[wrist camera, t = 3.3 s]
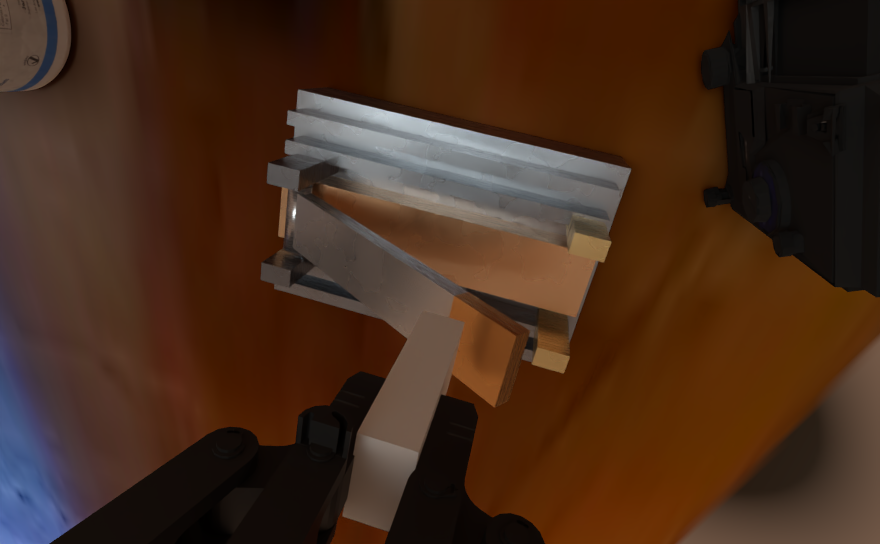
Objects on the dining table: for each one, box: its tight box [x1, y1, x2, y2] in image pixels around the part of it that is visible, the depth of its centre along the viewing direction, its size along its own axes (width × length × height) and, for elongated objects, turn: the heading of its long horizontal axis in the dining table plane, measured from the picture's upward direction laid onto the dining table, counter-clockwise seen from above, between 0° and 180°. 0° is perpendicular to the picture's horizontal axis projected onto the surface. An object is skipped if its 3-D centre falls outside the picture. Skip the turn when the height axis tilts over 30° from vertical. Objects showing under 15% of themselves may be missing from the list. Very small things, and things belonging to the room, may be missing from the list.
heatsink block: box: [261, 87, 631, 373], centre depth 28 cm, size 18×12×9 cm, turn 78°
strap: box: [283, 185, 530, 408], centre depth 23 cm, size 16×4×1 cm
